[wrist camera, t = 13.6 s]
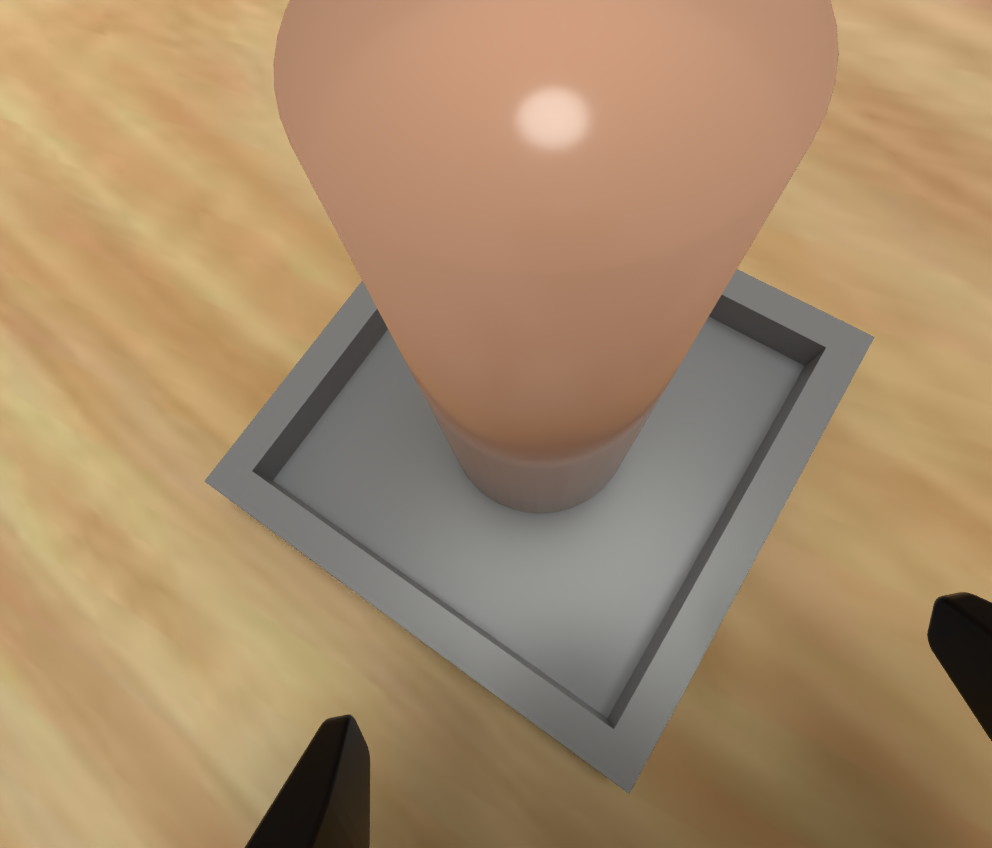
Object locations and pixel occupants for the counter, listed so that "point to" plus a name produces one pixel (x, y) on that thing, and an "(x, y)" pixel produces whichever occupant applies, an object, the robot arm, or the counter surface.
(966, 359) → the counter surface
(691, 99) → the peach rounded cylinder
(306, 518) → the tray
